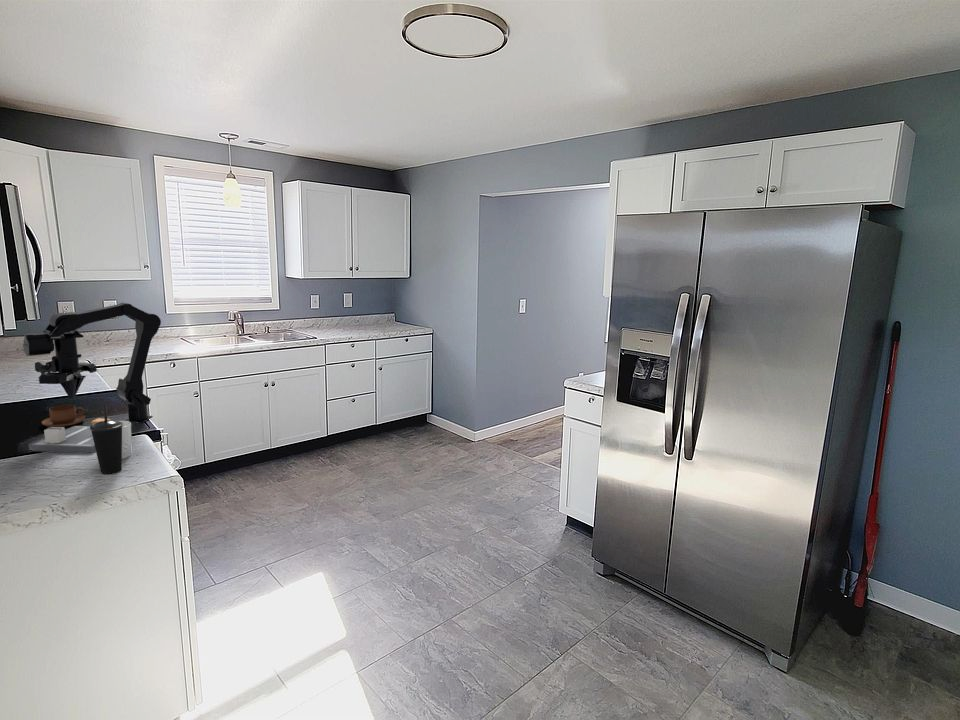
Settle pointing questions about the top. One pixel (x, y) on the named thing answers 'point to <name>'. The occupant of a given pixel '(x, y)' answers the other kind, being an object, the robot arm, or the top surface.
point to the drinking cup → (108, 444)
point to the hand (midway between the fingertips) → (72, 398)
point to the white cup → (126, 439)
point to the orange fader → (98, 420)
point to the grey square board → (70, 442)
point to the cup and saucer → (63, 416)
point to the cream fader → (55, 435)
